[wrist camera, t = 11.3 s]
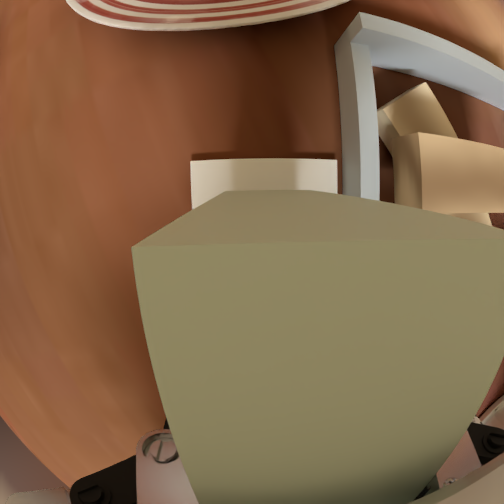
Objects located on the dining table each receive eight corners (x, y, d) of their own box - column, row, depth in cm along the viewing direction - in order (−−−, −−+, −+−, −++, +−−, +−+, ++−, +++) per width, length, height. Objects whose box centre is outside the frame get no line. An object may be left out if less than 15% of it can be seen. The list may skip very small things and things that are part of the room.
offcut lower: (404, 91, 16) (425, 81, 13) (469, 220, 19) (492, 227, 16) (363, 118, 17) (382, 109, 14) (437, 252, 19) (459, 263, 16)
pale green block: (310, 190, 15) (533, 238, 2) (302, 376, 18) (352, 554, 5) (225, 191, 15) (131, 246, 2) (234, 380, 18) (233, 569, 5)
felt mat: (334, 160, 17) (337, 160, 17) (322, 373, 21) (323, 376, 20) (191, 161, 17) (190, 161, 16) (208, 379, 21) (208, 382, 20)
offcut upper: (390, 138, 14) (418, 132, 11) (491, 153, 15) (518, 152, 12) (394, 208, 15) (422, 214, 12) (493, 207, 16) (520, 212, 13)
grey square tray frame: (510, 103, 16) (551, 98, 10) (504, 288, 20) (542, 310, 14) (333, 45, 15) (365, 3, 9) (336, 313, 20) (367, 359, 14)
